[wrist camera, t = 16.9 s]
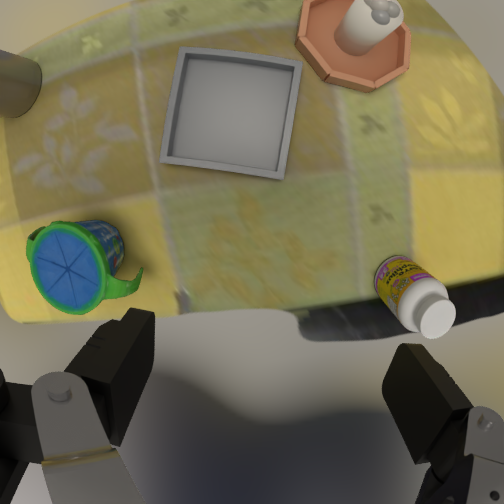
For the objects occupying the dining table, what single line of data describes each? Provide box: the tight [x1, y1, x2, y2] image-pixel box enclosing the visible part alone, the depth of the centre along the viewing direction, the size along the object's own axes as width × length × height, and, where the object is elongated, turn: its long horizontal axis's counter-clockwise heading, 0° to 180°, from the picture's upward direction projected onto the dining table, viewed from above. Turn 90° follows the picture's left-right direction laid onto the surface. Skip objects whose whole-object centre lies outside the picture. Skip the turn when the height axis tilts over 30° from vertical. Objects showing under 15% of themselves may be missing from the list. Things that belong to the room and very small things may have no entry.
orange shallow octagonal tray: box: [295, 0, 411, 93], centre depth 31 cm, size 14×14×3 cm
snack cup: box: [26, 220, 143, 315], centre depth 35 cm, size 16×10×10 cm
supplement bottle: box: [375, 256, 456, 339], centre depth 35 cm, size 7×7×13 cm
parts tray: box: [159, 47, 303, 180], centre depth 34 cm, size 14×14×3 cm
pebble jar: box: [334, 0, 403, 56], centre depth 26 cm, size 5×5×11 cm
